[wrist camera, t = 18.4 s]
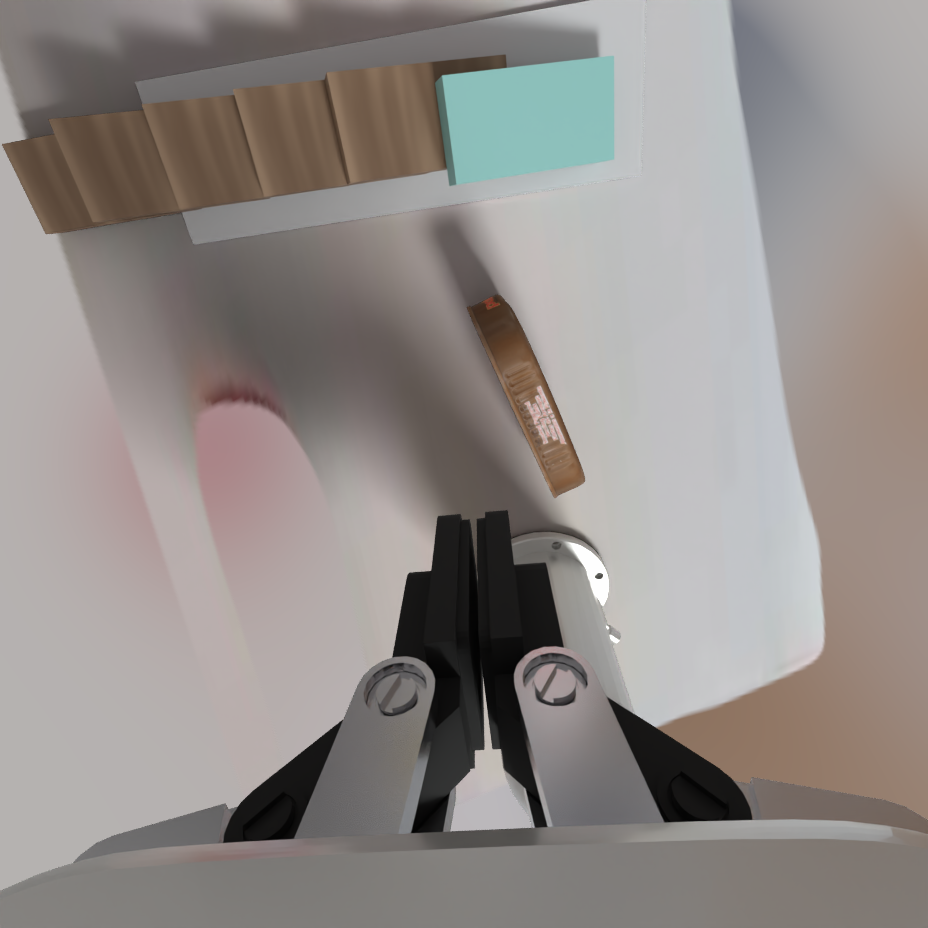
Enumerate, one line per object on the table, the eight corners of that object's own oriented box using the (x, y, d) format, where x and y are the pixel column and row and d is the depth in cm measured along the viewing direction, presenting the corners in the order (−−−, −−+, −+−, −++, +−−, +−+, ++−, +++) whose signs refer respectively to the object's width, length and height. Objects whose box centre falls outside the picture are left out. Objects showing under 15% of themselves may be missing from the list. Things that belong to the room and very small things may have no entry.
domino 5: (505, 54, 28) (326, 72, 26) (514, 158, 30) (350, 182, 28) (495, 62, 29) (324, 79, 27) (504, 161, 32) (347, 184, 30)
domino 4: (416, 70, 28) (232, 89, 26) (431, 171, 31) (264, 196, 28) (410, 77, 30) (235, 95, 28) (425, 174, 32) (264, 197, 30)
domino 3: (330, 84, 29) (141, 104, 26) (351, 184, 31) (179, 209, 29) (328, 91, 30) (148, 110, 28) (348, 185, 32) (184, 210, 30)
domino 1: (154, 114, 29) (1, 144, 30) (189, 210, 32) (45, 234, 33) (170, 118, 31) (23, 146, 32) (201, 209, 33) (64, 232, 34)
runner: (645, -9, 28) (646, -10, 28) (640, 176, 32) (641, 175, 32) (137, 82, 30) (134, 81, 30) (195, 244, 34) (193, 244, 34)
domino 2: (242, 100, 29) (48, 119, 27) (269, 197, 31) (93, 222, 29) (244, 106, 30) (59, 124, 28) (269, 198, 33) (101, 222, 30)
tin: (463, 298, 36) (462, 325, 29) (503, 278, 35) (513, 300, 28) (540, 465, 42) (555, 522, 35) (575, 451, 42) (598, 506, 34)
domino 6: (614, 55, 28) (442, 75, 26) (614, 159, 30) (456, 184, 28) (599, 63, 29) (434, 82, 27) (600, 162, 32) (449, 186, 30)
